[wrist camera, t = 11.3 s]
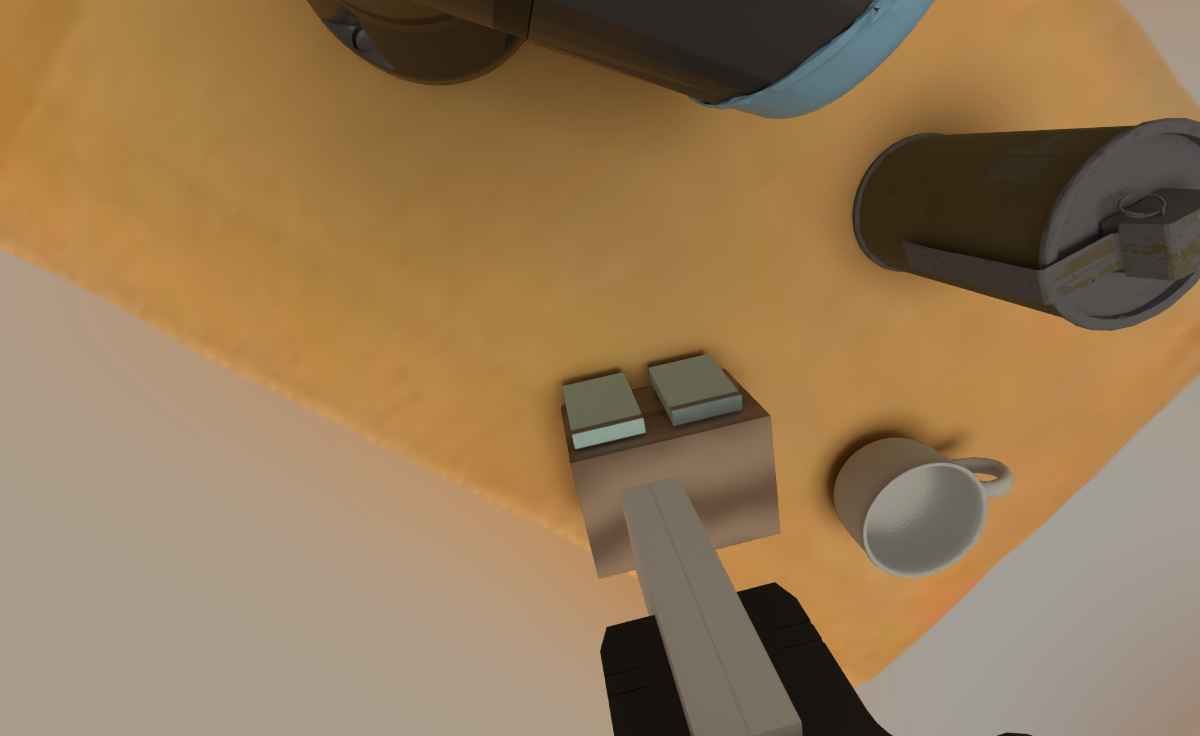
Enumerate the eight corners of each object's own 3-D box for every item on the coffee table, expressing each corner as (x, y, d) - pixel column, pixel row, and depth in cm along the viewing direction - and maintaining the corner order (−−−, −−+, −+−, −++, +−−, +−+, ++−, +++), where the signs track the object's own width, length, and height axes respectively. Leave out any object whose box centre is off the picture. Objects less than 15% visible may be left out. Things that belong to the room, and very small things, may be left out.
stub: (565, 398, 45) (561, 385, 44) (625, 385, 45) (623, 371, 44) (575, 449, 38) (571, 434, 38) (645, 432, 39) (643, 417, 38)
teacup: (820, 533, 54) (867, 592, 47) (814, 437, 50) (865, 485, 43) (954, 498, 55) (1022, 551, 48) (959, 401, 51) (1033, 442, 44)
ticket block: (560, 406, 46) (570, 463, 37) (724, 368, 47) (770, 415, 38) (584, 506, 50) (598, 579, 41) (736, 469, 50) (780, 533, 42)
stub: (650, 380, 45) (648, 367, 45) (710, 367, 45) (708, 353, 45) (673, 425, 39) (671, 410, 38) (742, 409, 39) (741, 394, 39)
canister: (959, 106, 42) (1309, 64, 23) (989, 230, 46) (1311, 279, 27) (829, 180, 43) (1070, 197, 24) (869, 296, 46) (1104, 388, 28)
